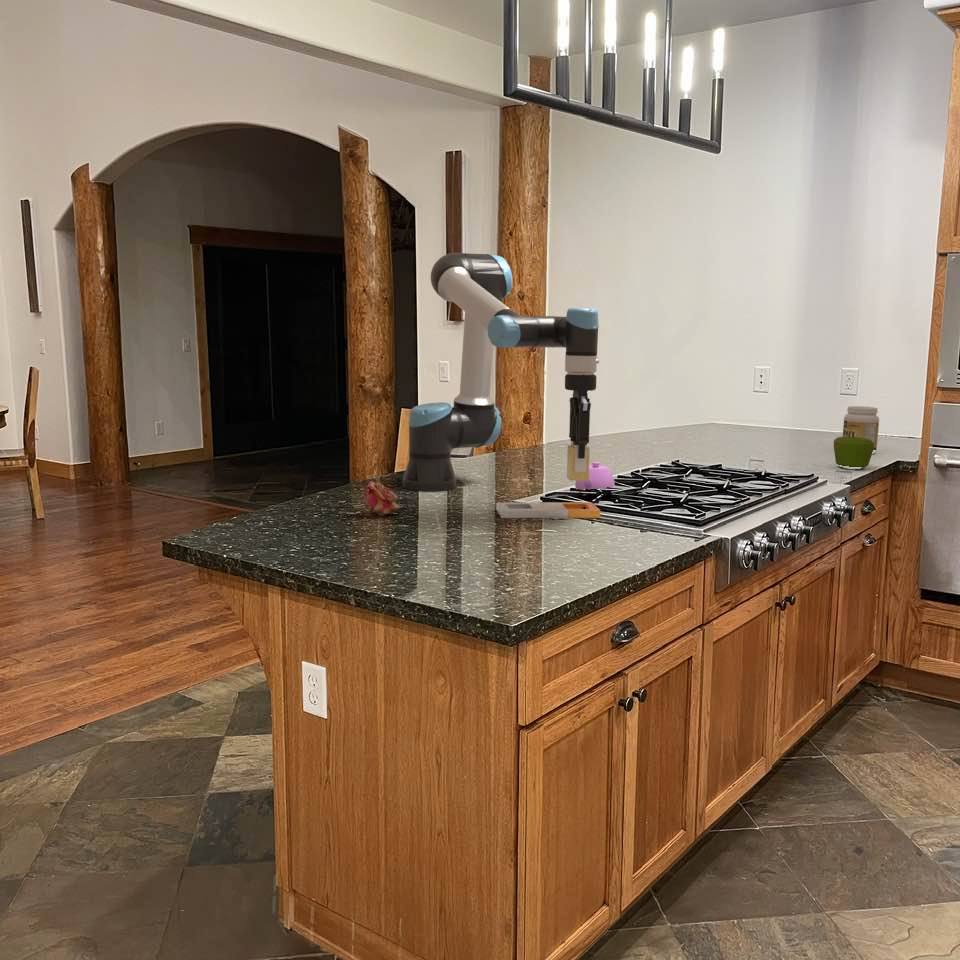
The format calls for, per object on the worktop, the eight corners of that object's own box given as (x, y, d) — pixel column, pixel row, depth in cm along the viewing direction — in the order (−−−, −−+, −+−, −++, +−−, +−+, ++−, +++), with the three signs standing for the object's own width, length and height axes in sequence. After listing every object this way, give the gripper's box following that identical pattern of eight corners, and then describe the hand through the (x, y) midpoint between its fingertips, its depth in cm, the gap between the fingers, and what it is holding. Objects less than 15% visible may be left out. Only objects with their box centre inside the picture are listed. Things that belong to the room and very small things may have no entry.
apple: (879, 470, 320) (882, 436, 318) (850, 472, 316) (853, 437, 314) (852, 464, 332) (855, 431, 330) (823, 466, 327) (826, 433, 325)
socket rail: (501, 520, 232) (501, 510, 231) (496, 511, 242) (496, 502, 241) (600, 520, 234) (600, 510, 234) (591, 511, 244) (591, 502, 244)
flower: (357, 512, 230) (377, 485, 229) (351, 497, 238) (371, 471, 237) (389, 532, 234) (409, 506, 233) (383, 516, 242) (402, 491, 241)
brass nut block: (570, 480, 234) (571, 447, 233) (566, 477, 239) (567, 445, 238) (588, 480, 235) (589, 447, 234) (584, 477, 239) (585, 445, 238)
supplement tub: (834, 451, 366) (837, 405, 363) (861, 450, 370) (865, 405, 367) (855, 455, 355) (859, 409, 352) (883, 454, 358) (887, 408, 355)
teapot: (620, 494, 269) (622, 460, 268) (601, 503, 256) (602, 467, 255) (585, 490, 274) (587, 457, 273) (564, 498, 261) (566, 464, 259)
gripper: (604, 375, 225) (601, 475, 228) (588, 371, 242) (585, 464, 246) (572, 375, 224) (569, 475, 228) (558, 371, 241) (556, 464, 245)
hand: (577, 469), depth 237 cm, fingers closed on brass nut block, 4 cm apart
